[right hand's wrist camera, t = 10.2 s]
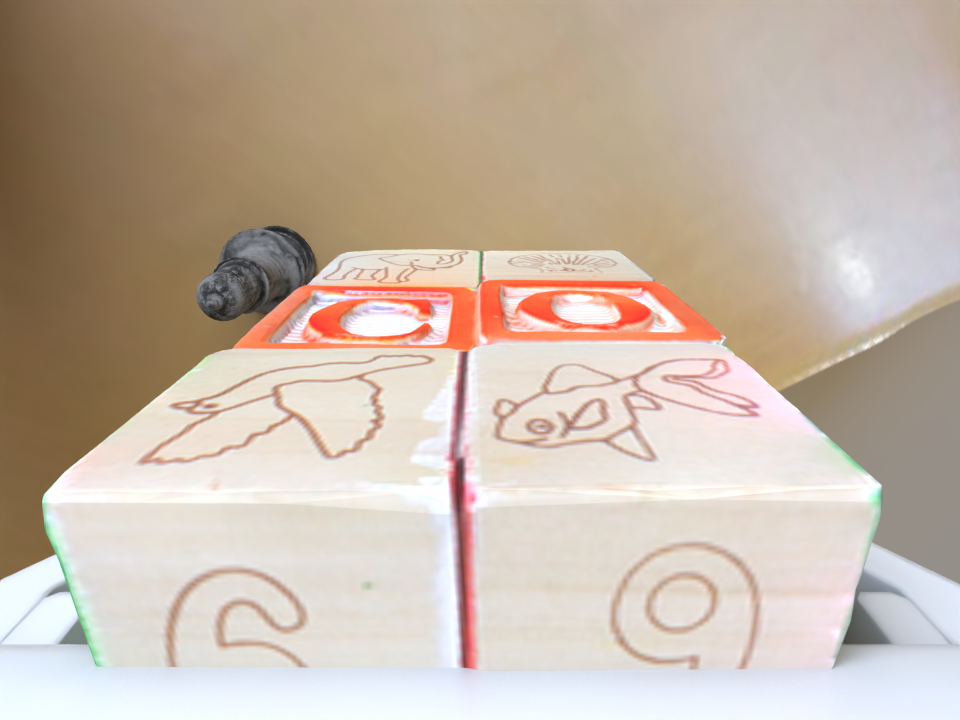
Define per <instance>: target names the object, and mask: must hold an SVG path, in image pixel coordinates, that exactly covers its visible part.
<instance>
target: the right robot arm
mask: <svg viewBox="0 0 960 720" xmlns="http://www.w3.org/2000/svg"><path fill="white" fill-rule="evenodd" d="M0 720H960V584H958V583H956V582H954V581H952V580H950V579H947V578H945V577H943V576H941V575H939V574H937V573H935V572H933V571H931V570H929V569H926V568H924V567H922V566H920V565H918V564H916V563H914V562H912V561H910V560H908V559H905V558H903V557H901V556H899V555H897V554H895V553H893V552H891V551H889V550H887V549H884V548H882V547H880V546H878V545H876V544H874V543H871V547H870V550H869V553H868V556H867V560H866V563H865V566H864V569H863V573H862V576H861V578H860V580H859V583H858V585H857V587H856V590H855V597H854V603H853V610H852V616H851V622H850V624H849V627H848V629H847V632H846V634H845V637H844V639H843V642H842V645H841V647H840V650H839V652H838V655H837V657H836V660H835V663H834V665H833V668H832V669H683V670H554V671H481V670H475V669H469V668H452V667H97V666H96V665H95V662H94V659H93V656H92V653H91V651H90V648H89V645H88V642H87V639H86V637H85V634H84V631H83V628H82V626H81V623H80V620H79V617H78V615H77V612H76V609H75V606H74V603H73V600H72V597H71V594H70V592H69V589H68V586H67V583H66V580H65V577H64V574H63V571H62V569H61V566H60V563H59V560H58V558H57V555H56V554H55V555H53V556H51V557H49V558H47V559H44V560H42V561H40V562H38V563H36V564H34V565H32V566H30V567H27V568H25V569H23V570H21V571H19V572H17V573H15V574H13V575H10V576H8V577H6V578H4V579H2V580H0Z"/></svg>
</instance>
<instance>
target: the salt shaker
mask: <svg viewBox="0 0 960 720" xmlns="http://www.w3.org/2000/svg"><path fill="white" fill-rule="evenodd" d="M314 268H315V264H314V256H313V254H312V251H311V249H310V247H309V245H308V244H307V243H306V241H305V240H304V239H303V238H302V237H301V236H300V235H299V234H297V233H296V232H294V231H292V230H290V229H288V228H285V227H280V226H268V227H265V228H262V229H249V230H246V231H243V232H239V233H238V234H236V235H235V236H233V237H232V238H230V239H229V241H228V242H227V243H226V245H225V246H224V247H223V250H222V252H221V255H220V260H219V264H218V266H217V267H216V268H215V270H214V272H213V273H212V274H210V275H209V276H207V277H206V278H204V279H203V281H202V282H201V283H200V284H199V287H198V289H197V302H198V304H199V306H200V308H201V310H202V311H203V312H204V313H205V314H206V315H207V316H209V317H210V318H212V319H215V320H219V321H229V320H232V319H235V318H237V317H238V316H240V315H241V314H243V313H251V312H259V313H270V312H271V311H272V310H274V309H275V308H276V307H277V306H278V305H279V304H280V303H281V302H282V301H284V300H285V299H286V298H287V297H288V296H290V295H291V294H292V292H293V291H295V290H296V289H298V288H299V287H302V286H304V285H308V284H309V283H310V281H311V279H312V277H313V275H314Z"/></svg>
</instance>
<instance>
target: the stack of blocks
mask: <svg viewBox="0 0 960 720" xmlns="http://www.w3.org/2000/svg"><path fill="white" fill-rule="evenodd" d="M725 344H726V337H725V336H724V335H723V334H722V333H721V332H720V331H719V330H718V329H717V328H715V327H714V326H713V325H712V324H711V323H709V322H708V321H707V320H706V319H705V318H703V317H702V316H701V315H700V314H699V313H697V312H696V311H695V310H694V309H693V308H691V307H690V306H689V305H688V304H687V303H685V302H684V301H683V300H681V299H680V298H679V297H678V296H676V295H675V294H674V293H673V292H671V291H670V290H669V289H668V288H667V287H665V286H664V285H662V284H660V283H657V282H655V280H654V278H652V277H651V276H650V275H648V274H647V273H646V272H644V271H643V270H642V269H640V268H639V267H638V266H637V265H636V264H634V263H633V262H631V261H630V260H629V259H628V258H626V257H625V256H624V255H623V254H621V253H620V252H617V251H485V252H481V251H474V250H375V251H359V252H347V253H344V254H341V255H339V256H338V257H337V258H335V259H334V260H333V261H332V262H330V263H329V264H328V265H327V266H326V267H325V268H324V269H323V270H322V271H321V272H320V273H319V274H318V275H317V276H316V277H315V278H313V279H312V281H311V282H310V283H309V284H308V285H304V286H302V287H299V288H298V289H296V290H295V291H293V292H292V294H291V295H290V296H288V297H287V298H286V299H285V300H284V301H282V302H281V303H280V304H279V305H278V306H277V307H276V308H275V309H274V310H272V311H271V312H270V313H269V314H268V315H267V316H265V317H264V318H263V319H262V320H261V321H259V322H258V323H257V324H256V325H255V326H254V327H253V328H252V329H251V330H250V331H249V332H248V333H247V334H246V335H245V336H244V337H243V338H242V339H241V340H240V341H239V342H238V343H237V344H236V345H235V346H234V347H233V349H229V350H224V351H219V352H217V353H214V354H211V355H208V356H207V357H206V358H204V359H203V360H202V361H201V362H200V363H199V364H198V365H197V366H196V367H194V368H193V369H192V370H191V371H189V372H188V373H187V374H185V375H184V376H183V377H182V378H181V379H179V380H178V381H177V382H176V383H175V384H174V385H172V386H171V387H170V388H169V389H167V390H166V391H165V392H163V393H162V394H161V395H160V396H158V397H157V398H156V399H155V400H153V401H152V402H151V403H149V404H148V405H147V406H146V407H144V408H143V409H142V410H141V411H140V412H138V413H137V414H136V415H135V416H134V417H132V418H131V419H130V420H129V421H128V422H126V423H125V424H124V425H123V426H122V427H120V428H119V429H118V430H117V431H115V432H114V433H113V434H112V435H110V436H109V437H108V438H107V439H105V440H104V441H103V442H102V443H100V444H99V445H98V446H97V447H95V448H94V449H93V450H92V451H90V452H89V453H88V454H87V455H85V456H84V457H83V458H82V459H80V460H79V461H78V462H77V463H75V464H74V465H73V466H72V467H70V468H69V469H68V470H67V471H65V472H64V473H63V475H62V476H61V477H60V478H59V479H58V480H57V481H56V482H55V483H54V484H53V485H52V486H51V488H50V489H49V490H48V491H47V492H46V493H45V494H44V496H43V501H42V506H43V515H44V523H45V531H46V533H47V535H48V538H49V540H50V542H51V544H52V547H53V549H54V551H55V553H56V555H57V558H58V560H59V563H60V566H61V569H62V571H63V574H64V577H65V580H66V583H67V586H68V589H69V592H70V594H71V597H72V600H73V603H74V606H75V609H76V612H77V615H78V617H79V620H80V623H81V626H82V628H83V631H84V634H85V637H86V639H87V642H88V645H89V648H90V651H91V653H92V656H93V659H94V662H95V665H96V666H97V667H452V668H469V669H475V670H481V671H554V670H683V669H832V668H833V665H834V663H835V660H836V657H837V655H838V652H839V650H840V647H841V645H842V642H843V639H844V637H845V634H846V632H847V629H848V627H849V624H850V622H851V616H852V610H853V603H854V597H855V590H856V587H857V585H858V583H859V580H860V578H861V576H862V573H863V569H864V566H865V563H866V560H867V556H868V553H869V550H870V547H871V543H872V540H873V537H874V534H875V531H876V528H877V525H878V522H879V519H880V516H881V508H882V500H883V499H882V486H881V484H880V483H878V482H877V481H876V480H875V479H874V478H873V477H872V476H870V475H869V474H868V473H867V472H866V471H865V470H864V469H863V468H861V467H860V466H859V465H858V464H857V463H856V462H855V461H854V460H853V459H852V458H851V457H849V456H848V455H847V454H846V453H845V452H844V451H843V450H842V449H841V448H840V447H839V446H837V445H836V444H835V443H834V442H833V441H832V440H831V439H830V438H829V437H828V436H827V435H826V434H825V433H824V432H823V431H821V430H820V429H819V428H818V427H817V426H816V425H815V424H814V423H813V422H811V421H810V420H809V419H808V418H807V417H806V416H805V415H804V414H802V413H801V412H800V411H799V410H798V409H797V408H796V407H794V406H793V405H792V404H791V403H790V402H789V401H788V400H786V399H785V398H784V397H783V396H782V395H781V394H779V393H778V392H777V391H776V390H775V389H774V388H772V387H771V386H770V385H769V384H768V383H767V382H766V381H765V380H764V379H763V378H762V377H761V376H760V375H759V374H758V373H757V372H756V371H755V370H754V369H752V368H751V367H750V366H749V365H748V364H746V363H745V362H744V361H743V360H741V359H740V358H738V357H737V356H735V355H734V354H733V352H732V351H731V350H730V349H728V348H727V347H725Z"/></svg>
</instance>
